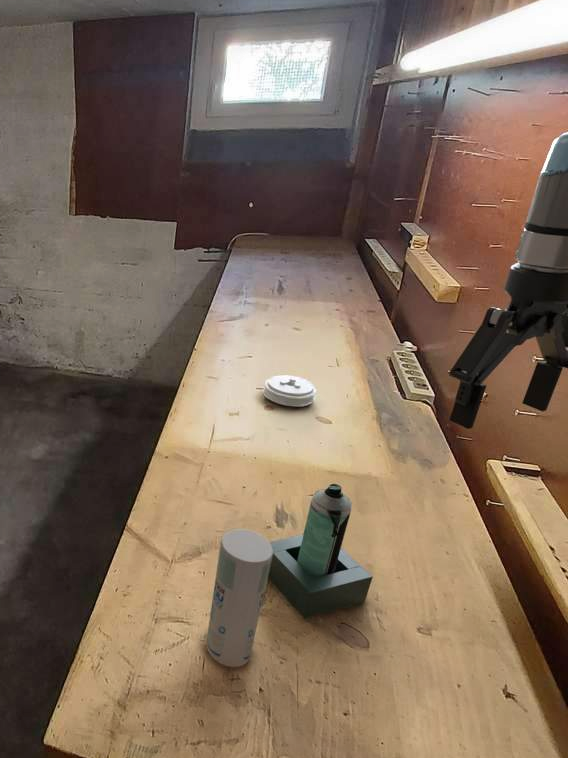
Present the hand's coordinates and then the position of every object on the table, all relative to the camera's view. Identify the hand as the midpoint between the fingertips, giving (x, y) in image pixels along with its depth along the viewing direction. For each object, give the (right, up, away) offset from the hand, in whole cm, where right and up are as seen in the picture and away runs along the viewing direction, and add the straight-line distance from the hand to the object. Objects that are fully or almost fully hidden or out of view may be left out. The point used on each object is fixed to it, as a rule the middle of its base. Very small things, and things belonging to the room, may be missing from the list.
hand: (497, 415), depth 79 cm
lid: (+4, 0, +73) cm, 73 cm away
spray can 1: (-37, -35, +4) cm, 51 cm away
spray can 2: (-19, -29, +15) cm, 38 cm away
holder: (-19, -29, +15) cm, 38 cm away
